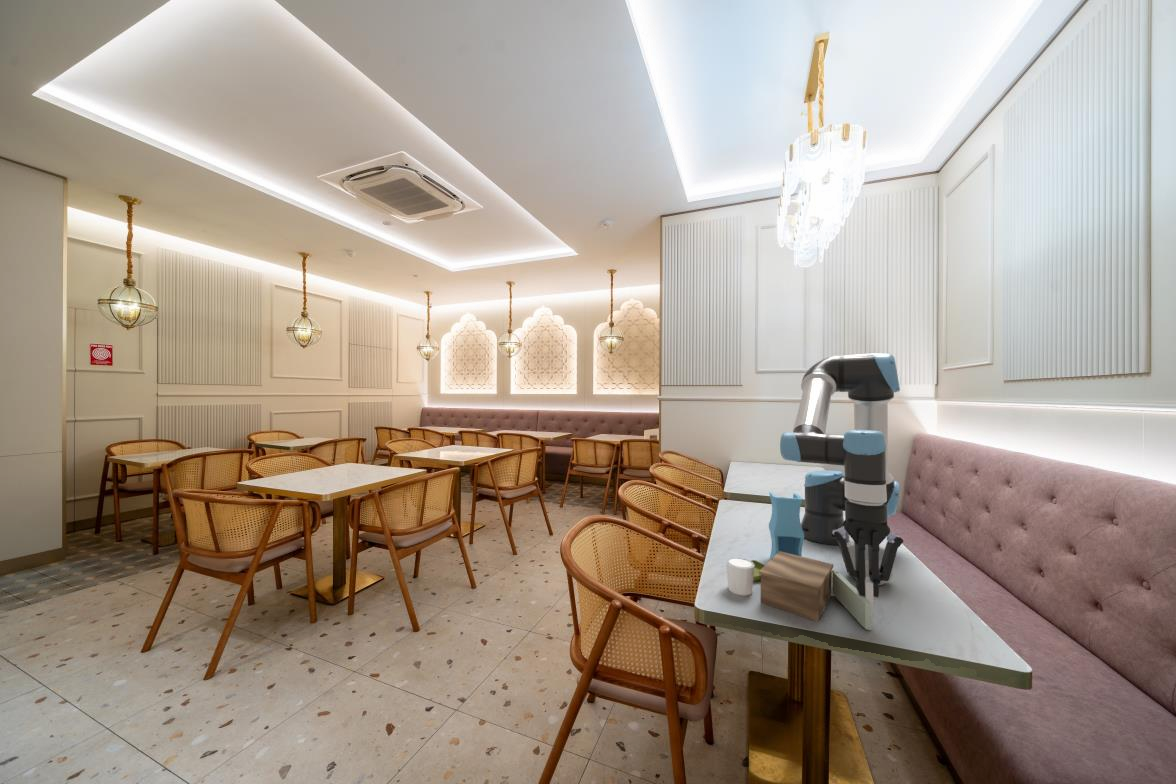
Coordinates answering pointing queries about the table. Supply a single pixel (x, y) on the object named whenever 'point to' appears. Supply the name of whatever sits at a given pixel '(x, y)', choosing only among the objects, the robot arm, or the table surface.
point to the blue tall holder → (786, 525)
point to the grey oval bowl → (866, 560)
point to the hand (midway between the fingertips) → (868, 610)
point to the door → (852, 600)
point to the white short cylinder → (740, 575)
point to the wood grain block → (796, 584)
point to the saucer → (757, 570)
